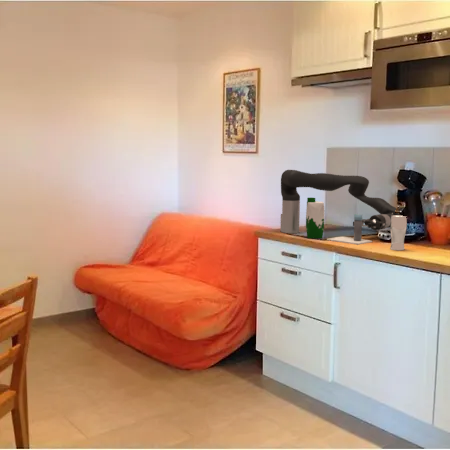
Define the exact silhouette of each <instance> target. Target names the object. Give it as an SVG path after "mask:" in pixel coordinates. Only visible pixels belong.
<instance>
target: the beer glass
mask: <svg viewBox="0 0 450 450" xmlns="http://www.w3.org/2000/svg"><path fill="white" fill-rule="evenodd" d="M406 217H407V218H406ZM407 219H408V215H407V216H403V215H392V216H391V222H390V227H389V229H390V236H391V238H390V239H391V242H390V243H391V244H390V250H392V251H405V236H406V233H407V227H408V226H407V225H408V224H407V222H408V220H407Z"/></svg>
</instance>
